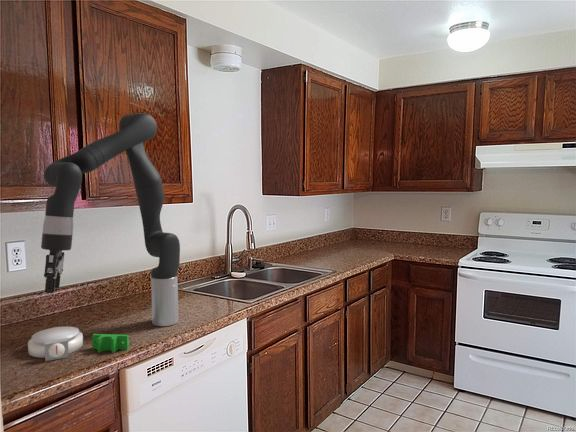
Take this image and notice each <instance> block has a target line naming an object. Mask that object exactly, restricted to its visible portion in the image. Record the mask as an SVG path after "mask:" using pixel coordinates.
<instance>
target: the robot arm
mask: <svg viewBox="0 0 576 432" xmlns="http://www.w3.org/2000/svg"><path fill="white" fill-rule="evenodd" d="M157 127H158V125H157V122H156V120H155V118H154V117H153V116H152V115H151V114H148V113H143V112H140V113H132V114H131V113H129V114H126V115H123V116H122V117H121V118H120V120H119V123H118V129H119V131H117V132H114V133H112V134H109V135H107V136H104V137H101V138H99V139H97V140H95V141H92V142H90V143H89V144H87V145H85V146H84V147H81V149H79V150H78V151H76V152H74V153H73V154H69V155H67V156H66V155H65V156H64V157H62V158H59V159H57V160H56V161H52V162H51V163H50V164H49V165H48V166H47V167H46V168H45V170H44V172H43V178H44V181H45V182H46V184H48V185H50V186H52V187H54V188H55V190H54V193H53V194H51V195H49V196H48V197H47V199H46V205H45V213H44V220H43V224H42V234H41V235H42V236H41V242H40V247H41V249H42V250H45V251H47V250H48V251H49V254H46V255H45V266H44V272H43V273H44V274H43V277H44V279H45V287H44V292H45V293H46V294H54V292H55V290H56V289H59V288H60V286H61V285H60V284H61V276H62V274H63V271H64V261H65V252H64V251H71V249H72V246H73V245H72V244H73V234H74V212H75V211H74V210H75V203H76V200H77V198H78V195H79V193H80V189H81V186H82V183H83V174H89V173H91V172H93V171H95V170H96V169H99V168H100V167H101V166H103V165H105V163H107V162H109V161H110V160H112V159H114V158H115V157H117V156H118V155H120V154H123V152H125V153H126V155H127V159H128V162H129V168H130V171H131V175H132V179H133V185H134V189H135V190H134V191H135V194H136V198H137V202H138V205H139V206H138V207H139V213H140V215H141V216H140V217H141V221H142V228H143V229H142V230H143V238H144V245H145V249H146V252H147V253H148V254H149V255H150V256H151V257H154V258H159V259H158V266H156V267H154V268H153V267H152V269H151V270H150V279H151V280H150V282H151V283H150V284H151V286H150V287H151V317H152V320H151V322H152V325H153V326H156V327H169V326H173V325H176V324H177V323H178V322H179V289H178V287H179V286H178V285H179V284H178V272H179V268H180V255H181V243H180V239H179V238H178V236H177V234H174V233H173V232H172V233H171V232H163V229H162V224H161V211H162V208H163V204H164V201H165V190H164V186H163V181H162V178H161V175H160V173H159V172H158V170H157V168H156V167H155V165H154V164H153V163H152V161H151V160H150V158H149V157H148V155H147V152H146V149H145V146H144V143H145V142H147V141H150V140H152V139H153V138H154V137H155V135H156V134H157V131H158V128H157Z"/></svg>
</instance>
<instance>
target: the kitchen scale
mask: <svg viewBox="0 0 576 432" xmlns="http://www.w3.org/2000/svg"><path fill="white" fill-rule="evenodd" d="M83 335H84V334H83V333H82V331H80V329H79V328H78V327H75V326H55V327H50V328H46V329H42V330H39V331H37V332H35V333H34V334H33V335H31V338H30V339H29V340H28V341H27V351H28V355H29V356H31V357H34V358H38V359H39V358H45V359H44V361H45V362H49V361H54V360H60V359H65V358H69V357H70V356H69V354H70V353H73V352H75V351H78V350H79V349H81V348H82V347H83V346H84V336H83Z"/></svg>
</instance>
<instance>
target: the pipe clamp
mask: <svg viewBox="0 0 576 432" xmlns="http://www.w3.org/2000/svg"><path fill="white" fill-rule="evenodd" d="M129 337H130V336H129V334H112V333H111V334H110V333H108V334H107V333H93V334H92V335H91V338H92V339H91V340H92V342H91V343H92V350H97V353H102V352H105V351H111V353H113V354H114V353H116V352H117V351H118V350H123V351H127V350H129V349H130V339H129Z"/></svg>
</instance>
